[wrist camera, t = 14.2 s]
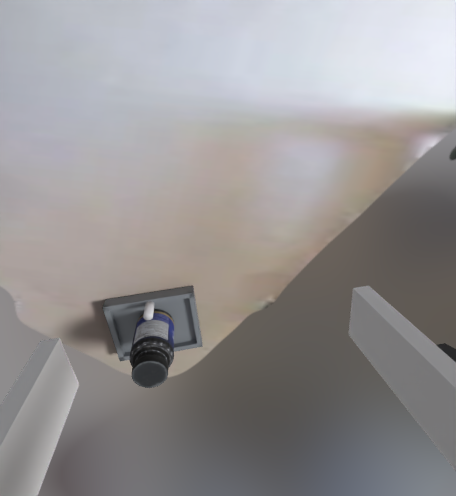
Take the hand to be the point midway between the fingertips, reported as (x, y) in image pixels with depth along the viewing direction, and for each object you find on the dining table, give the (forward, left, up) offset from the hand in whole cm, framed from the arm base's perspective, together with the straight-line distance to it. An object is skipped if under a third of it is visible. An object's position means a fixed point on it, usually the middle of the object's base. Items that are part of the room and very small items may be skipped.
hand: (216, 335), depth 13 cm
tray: (-9, -22, -32) cm, 39 cm away
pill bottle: (-9, -21, -31) cm, 38 cm away
